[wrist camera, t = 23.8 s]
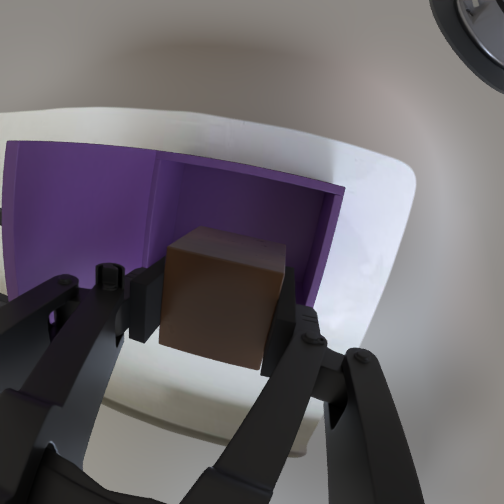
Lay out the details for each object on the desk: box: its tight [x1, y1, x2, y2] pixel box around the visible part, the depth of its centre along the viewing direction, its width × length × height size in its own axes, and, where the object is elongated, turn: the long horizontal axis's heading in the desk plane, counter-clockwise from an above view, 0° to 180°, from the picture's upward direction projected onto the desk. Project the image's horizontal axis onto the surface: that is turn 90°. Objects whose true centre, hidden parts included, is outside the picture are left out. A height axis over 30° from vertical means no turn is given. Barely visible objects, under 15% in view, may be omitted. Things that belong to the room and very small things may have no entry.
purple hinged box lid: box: [0, 141, 156, 323], centre depth 18 cm, size 19×13×8 cm
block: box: [159, 226, 286, 370], centre depth 15 cm, size 5×5×5 cm
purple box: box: [142, 150, 345, 308], centre depth 31 cm, size 18×13×8 cm
